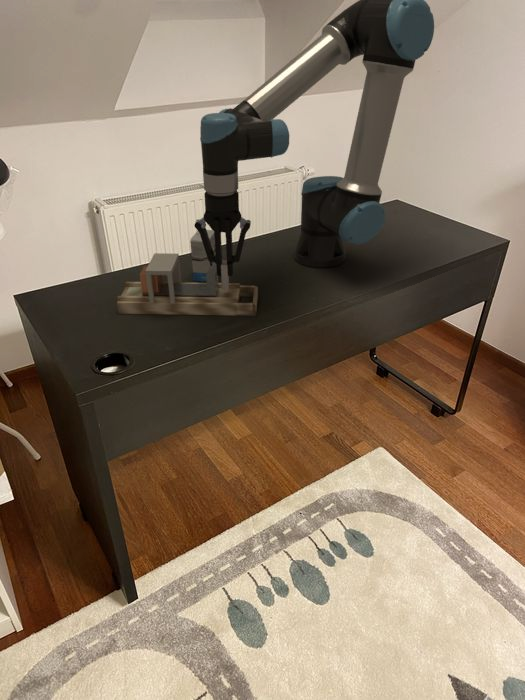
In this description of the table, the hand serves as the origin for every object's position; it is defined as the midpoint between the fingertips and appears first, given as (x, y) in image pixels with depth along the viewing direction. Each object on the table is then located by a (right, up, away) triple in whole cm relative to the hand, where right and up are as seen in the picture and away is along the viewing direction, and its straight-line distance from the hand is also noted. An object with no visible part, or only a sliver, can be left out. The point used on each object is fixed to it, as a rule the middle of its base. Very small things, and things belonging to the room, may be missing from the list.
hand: (225, 287), depth 128 cm
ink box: (-7, +5, +17) cm, 19 cm away
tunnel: (-15, -1, +2) cm, 15 cm away
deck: (-9, -4, +3) cm, 10 cm away
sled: (-11, -1, +1) cm, 11 cm away
